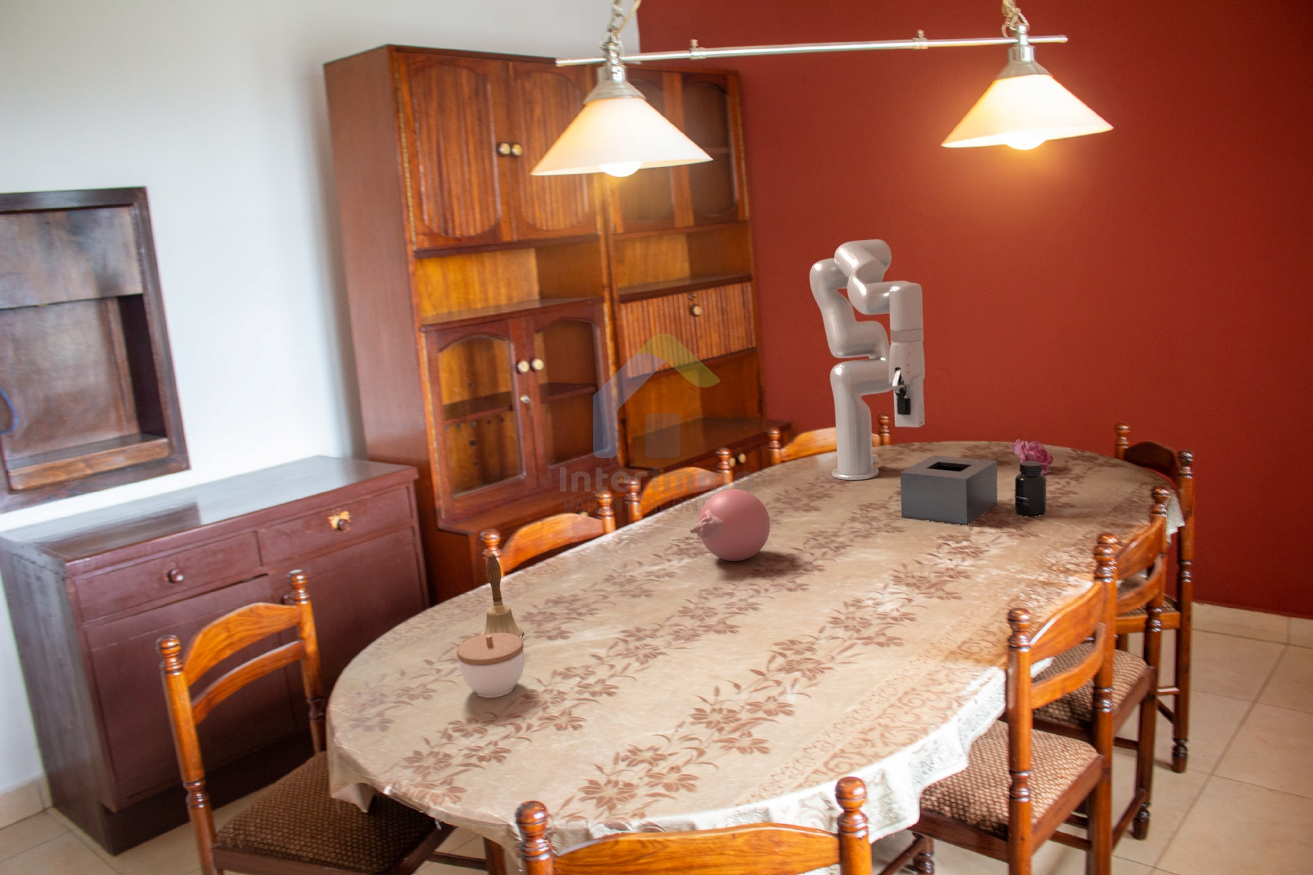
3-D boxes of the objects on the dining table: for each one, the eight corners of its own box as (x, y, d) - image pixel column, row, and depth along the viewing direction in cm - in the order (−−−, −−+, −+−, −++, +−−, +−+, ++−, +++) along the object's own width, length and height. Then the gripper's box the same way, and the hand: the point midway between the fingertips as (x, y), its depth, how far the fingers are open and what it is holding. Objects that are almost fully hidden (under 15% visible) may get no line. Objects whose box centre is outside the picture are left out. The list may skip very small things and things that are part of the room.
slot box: (934, 498, 256) (933, 455, 254) (997, 505, 246) (996, 460, 244) (901, 517, 242) (900, 472, 240) (966, 526, 232) (966, 479, 230)
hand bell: (527, 640, 188) (518, 557, 185) (482, 648, 186) (471, 564, 182) (520, 624, 196) (511, 544, 192) (476, 632, 194) (466, 551, 190)
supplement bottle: (1013, 517, 236) (1013, 466, 234) (1015, 508, 242) (1015, 459, 240) (1045, 518, 234) (1045, 467, 231) (1046, 509, 240) (1046, 459, 237)
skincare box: (925, 424, 246) (923, 374, 243) (919, 427, 242) (917, 377, 240) (900, 423, 249) (899, 374, 247) (894, 426, 246) (892, 377, 243)
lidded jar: (490, 710, 161) (483, 655, 159) (448, 694, 168) (441, 640, 166) (541, 684, 169) (535, 631, 167) (499, 669, 176) (493, 618, 174)
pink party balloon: (669, 565, 222) (664, 496, 219) (740, 542, 233) (735, 477, 230) (714, 582, 210) (709, 509, 207) (786, 557, 221) (783, 488, 218)
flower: (1057, 483, 272) (1063, 458, 265) (1019, 489, 273) (1025, 464, 265) (1041, 451, 280) (1047, 426, 273) (1005, 457, 280) (1010, 432, 273)
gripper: (909, 331, 250) (911, 405, 254) (874, 340, 238) (877, 418, 241) (937, 331, 245) (939, 406, 249) (904, 341, 233) (907, 420, 237)
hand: (909, 411), depth 245 cm, fingers closed on skincare box, 4 cm apart
